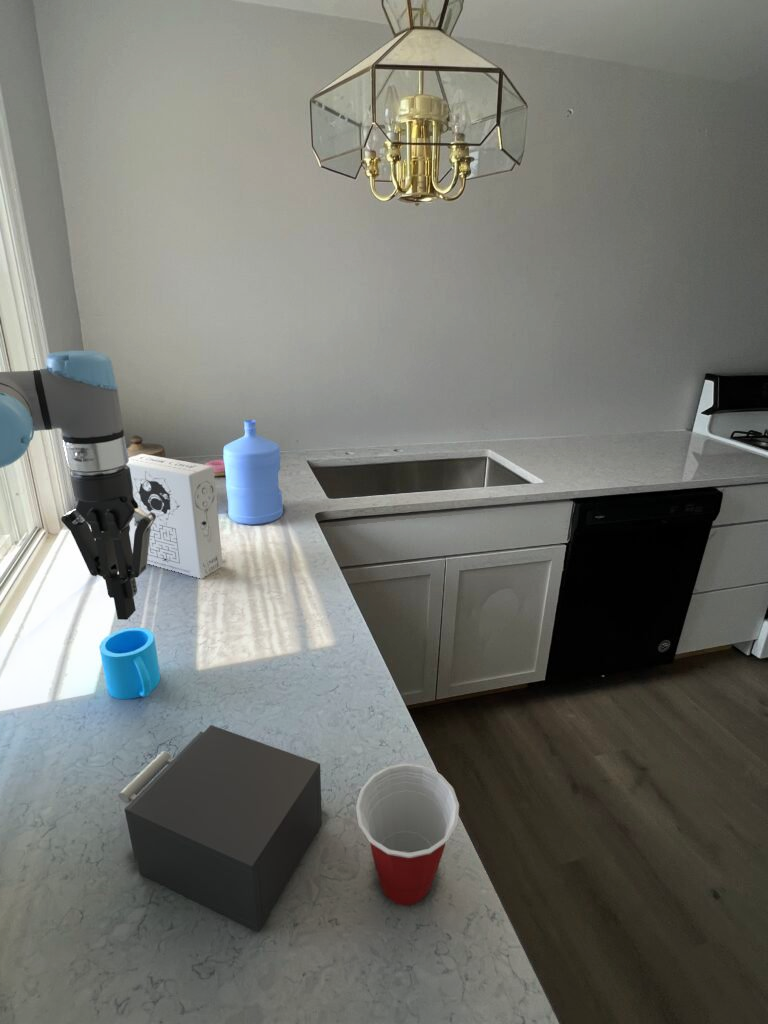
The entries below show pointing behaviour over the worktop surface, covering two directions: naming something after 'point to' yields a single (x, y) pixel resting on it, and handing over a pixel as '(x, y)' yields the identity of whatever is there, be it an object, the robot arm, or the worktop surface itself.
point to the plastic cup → (407, 827)
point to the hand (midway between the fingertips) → (126, 614)
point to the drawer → (145, 777)
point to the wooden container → (144, 448)
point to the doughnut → (217, 467)
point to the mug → (130, 663)
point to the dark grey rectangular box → (228, 824)
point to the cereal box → (178, 513)
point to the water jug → (253, 478)
